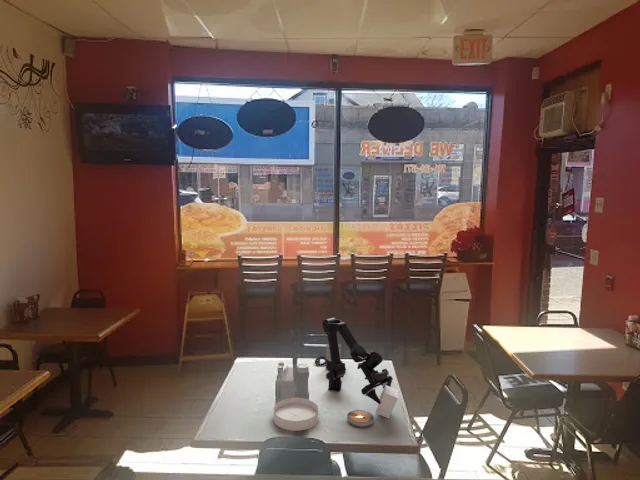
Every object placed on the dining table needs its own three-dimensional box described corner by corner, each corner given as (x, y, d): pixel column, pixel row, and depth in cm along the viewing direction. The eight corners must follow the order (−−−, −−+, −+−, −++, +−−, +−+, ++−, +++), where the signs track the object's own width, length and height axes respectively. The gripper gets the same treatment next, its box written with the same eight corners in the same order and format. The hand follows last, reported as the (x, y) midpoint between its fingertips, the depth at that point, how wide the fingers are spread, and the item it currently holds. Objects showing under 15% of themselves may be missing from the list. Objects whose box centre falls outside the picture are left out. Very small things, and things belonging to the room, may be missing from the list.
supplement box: (388, 419, 225) (398, 398, 221) (374, 412, 226) (383, 392, 222) (390, 409, 232) (399, 390, 228) (376, 403, 233) (385, 384, 229)
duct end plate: (345, 426, 218) (345, 421, 217) (348, 411, 230) (348, 408, 230) (372, 429, 215) (373, 425, 215) (374, 415, 228) (374, 411, 228)
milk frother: (341, 371, 275) (341, 348, 273) (314, 371, 275) (315, 347, 272) (339, 362, 289) (340, 339, 287) (314, 361, 289) (315, 338, 287)
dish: (328, 419, 224) (328, 409, 223) (294, 436, 208) (294, 426, 207) (297, 402, 239) (297, 393, 238) (263, 417, 224) (263, 407, 223)
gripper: (365, 370, 222) (383, 399, 216) (390, 359, 235) (407, 387, 228) (353, 380, 229) (370, 409, 222) (378, 370, 241) (394, 397, 235)
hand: (386, 400), depth 227 cm, fingers closed on supplement box, 9 cm apart
